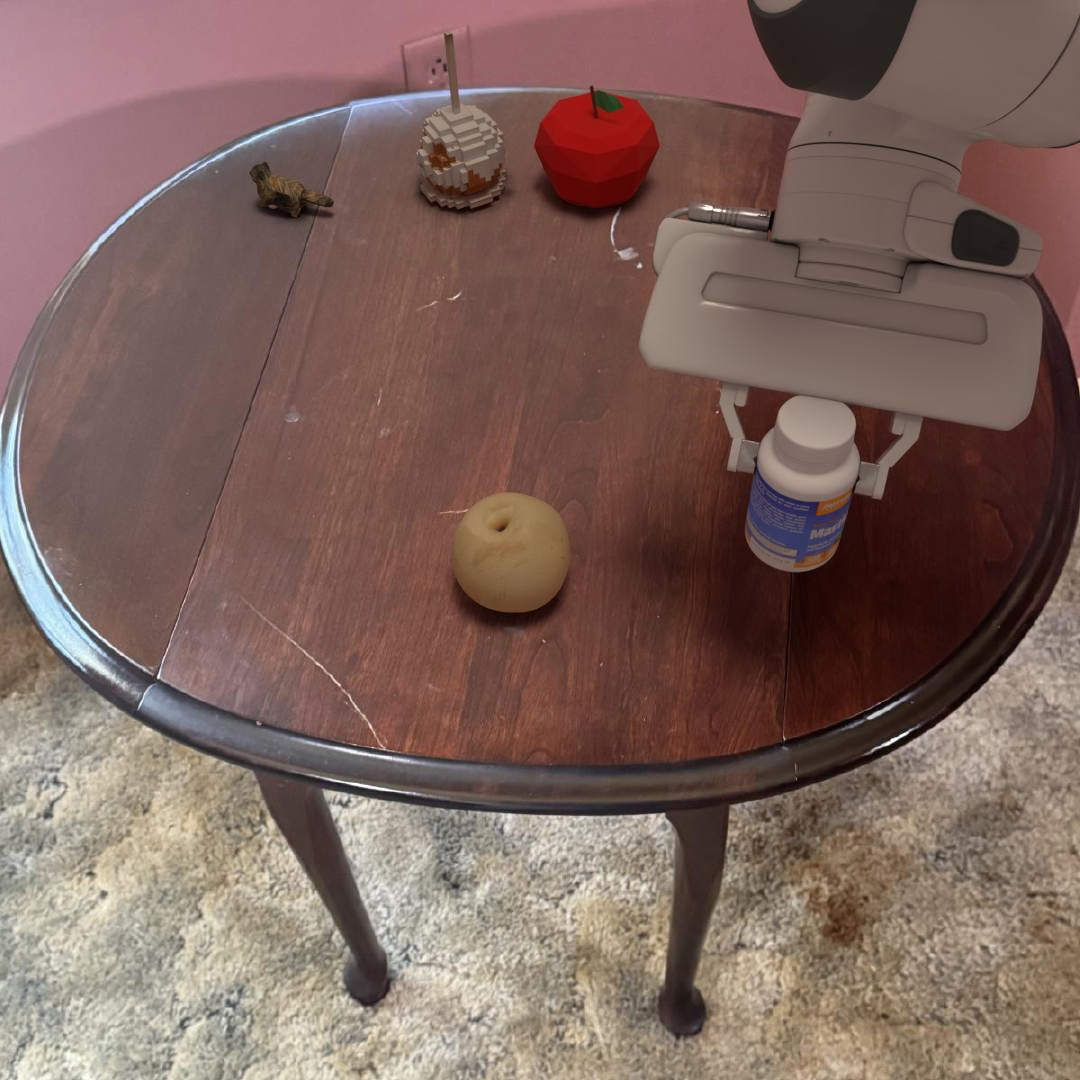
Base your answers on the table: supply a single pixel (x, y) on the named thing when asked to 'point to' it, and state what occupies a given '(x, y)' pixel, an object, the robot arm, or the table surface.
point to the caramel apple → (460, 150)
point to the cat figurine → (284, 191)
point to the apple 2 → (596, 148)
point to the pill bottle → (803, 484)
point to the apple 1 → (511, 552)
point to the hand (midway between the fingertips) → (803, 484)
